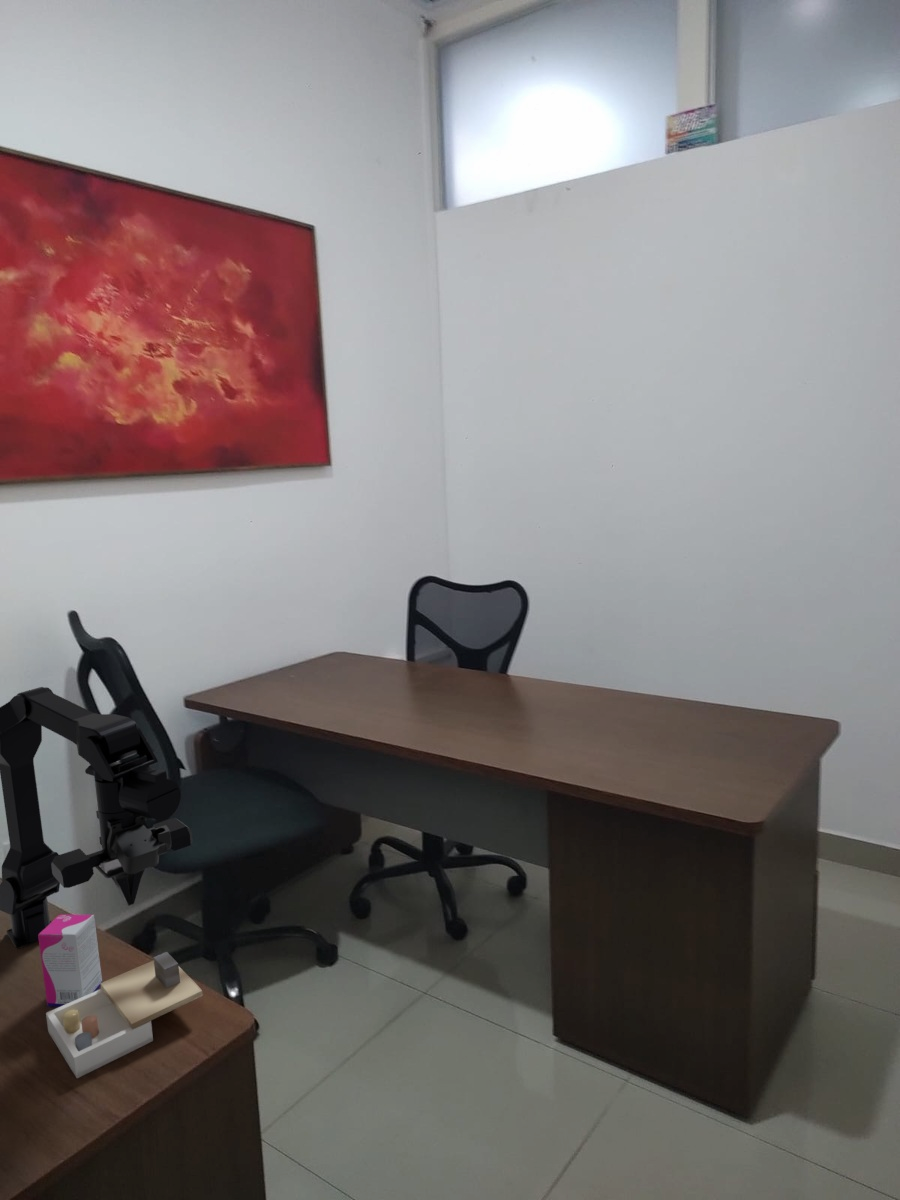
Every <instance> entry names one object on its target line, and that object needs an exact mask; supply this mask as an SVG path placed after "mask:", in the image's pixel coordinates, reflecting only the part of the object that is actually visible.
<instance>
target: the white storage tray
mask: <svg viewBox="0 0 900 1200" xmlns="http://www.w3.org/2000/svg"><path fill="white" fill-rule="evenodd" d="M45 1015H46V1016H45V1018H46V1024H47V1031H48V1034H49V1036H50V1037H51V1039H52V1040H53V1042H54V1044H55V1046H56V1047H57V1048H58V1050H59V1053H60V1054H61V1055H62V1057H63V1059H64V1060H65V1062H66V1064H67V1065H68V1066H69V1068H70V1070H71V1072H72V1073H73V1075H74V1076H75V1078H76V1079H80V1078H82V1077H83V1076H85V1075H88V1074H89V1073H91V1072H93V1071H95V1070H98V1069H100V1068H101V1067H103V1066H106V1065H108V1064H109V1063H111V1062H113V1061H114V1062H115V1060H117V1059H119V1058H121V1057H124V1056H126V1055H127V1054H129V1053H131V1052H134V1051H136V1050H137V1049H139V1048H140V1049H141V1048H142V1047H144V1046H146V1045H148V1044H150V1043H151V1042H153V1041H154V1037H153V1025H152V1020H151V1021H149V1022H147V1023H145V1024H143V1025H141V1026H138V1027H136V1028H134V1029H132V1028H131V1027H130V1026H129V1024H128V1023H127V1022H126V1020H125V1019H124V1018H123V1017H122V1015H121V1014H120V1013H119V1011H118V1010H117V1009H116V1007H115V1006H114V1005H113V1004H112V1002H111V1001H110V1000H109V998H108V997H107V996H106V994H105V993H104V992H103V990H102V989H101V988H99V989H98V990H97V991H95V992H93V993H90V994H88V995H86V996H84V997H81V998H79V999H77V1000H74V1001H72V1002H70V1003H68V1004H65V1005H63V1006H61V1007H56V1008H54V1009H52V1010H51V1009H50V1010H49V1011H47V1012H46V1013H45Z"/></svg>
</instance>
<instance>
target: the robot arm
mask: <svg viewBox="0 0 900 1200" xmlns="http://www.w3.org/2000/svg"><path fill="white" fill-rule="evenodd" d="M42 727H44V728H45V729H48V730H49V731H51V732H53V733H54V734H57V735H59V736H60V737H62V738H64V739H66V740H68V741H70V742H72V743H73V744H75V745H76V749H77V754H78V756H80V757H81V758H82V759H83V760H84V761H85V762H87V763H88V764H89V766H87V768H85V774H86V775H89V776H93V778H94V788H95V795H96V803H97V805H96V806H97V810H95V813H96V818H97V819H98V821H99V828H100V829H99V830H100V836H99V839H98V840H99V844H100V845H101V848H102V849H101V850H99V851H95V852H92V853H89V854H86V853H85V852H84V851H83V850H82V849H81V848H76V849H74V850H70V851H67V852H64V853H62V854H59V853H58V852H57V851H54V850H52V848H51V847H49V845H47V844H46V842H45V841H44V834H43V833H44V832H43V831H44V830H43V825H42V818H41V817H42V816H41V809H40V802H39V795H38V787H37V786H38V785H37V780H36V778H37V777H36V770H35V762H34V759H35V756H36V754H37V752H38V751H39V748H40V746H41V744H42V741H43V731H42V730H43V728H42ZM136 754H137V755H138V756H136V757H133V758H130V759H128V760H125V759H127V758H129V757H132V756H135V755H136ZM122 760H125V761H123V762H120V761H122ZM158 762H159V761H158V758H157V756H156V755H155V750H154V748H153V747H152V745H151V744H150V743H149V742H148V739H147V738H146V737H145V735H144V733H143V732H142V729H141V728H140V727H139V725H138V724H137V723H136V721H135V720H134V719H132V718H130V717H128V716H123V715H119V714H115V713H106V714H105V713H104V714H102V713H101V714H100V713H99V714H98V713H94V712H93V711H91V710H88V709H86V708H84V707H83V706H80V705H78V704H76V703H74V702H72V701H71V700H68V699H66V698H64V697H62V696H60V695H58V694H56V693H54V692H53V690H52V689H50V688H49V687H46V686H45V687H43V686H40V687H37V688H32V689H29V690H25V691H21V692H19V693H17V694H16V695H15V696H13V697H12V698H11V699H10V700H9V701H8V702H7V703H5V704H3V705H1V706H0V781H1V788H2V797H3V803H4V809H5V810H4V811H5V818H6V825H7V833H8V840H9V850H8V852H7V854H6V856H5V858H4V861H3V863H2V865H1V882H0V911H1V912H3V913H5V914H7V915H9V916H10V924H11V928H9V929H7V930H6V935H7V937H8V938H9V939H10V941H11V942H12V944H13V946H14V947H15V949H21V948H23V947H26V946H29V945H31V944H34V943H36V942H39V938H38V934H39V933H40V932H42V931H43V930H44V929H45V928H46V927H47V926H48V925H49V924H50V923H51V922H52V921H51V917H50V910H49V909H50V908H49V905H48V903H49V902H48V897H49V896H51V895H55V894H57V893H59V892H60V887H61V886H62V887H63V888H64V889H70V888H72V887H75V886H79V885H81V884H84V883H88V882H89V881H90V880H91V879H92V877H93V875H94V868H95V869H96V870H97V871H98V872H100V874H101V875H102V876H104V878H106V879H112V881H113V883H114V885H115V886H116V888H117V889H118V891H119V893H120V896H121V897H122V899H123V901H124V902H125V905H127V906H128V907H129V906H133V905H134V904H135V902H136V899H137V894H138V892H139V891H138V890H139V887H140V883H141V880H142V877H143V874H144V872H145V871H146V869H148V868H154V867H156V866H157V865H158V864H159V861H160V856H161V855H164V854H167V853H168V852H169V850H172V851H174V852H175V851H178V850H181V849H184V848H187V847H190V846H192V844H193V840H194V839H193V833H192V830H191V828H190V827H189V826H187V825H186V824H185V823H184V822H182V821H181V820H179V819H178V818H177V817H173V818H170V817H172V816H173V815H174V814H175V813H176V811H177V809H178V808H179V805H180V803H181V800H182V799H181V797H182V792H181V788H180V787H179V785H178V783H177V782H176V781H175V780H173V779H169V778H168V775H167V771H166V770H164V769H162V768H161V769H156V768H152V767H151V766H154V765H156V764H158ZM146 818H147V819H151V820H154V821H158V822H157V823H154V824H153V825H152V827H151V828H149V826H148V824H147V822H146ZM60 885H61V886H60Z"/></svg>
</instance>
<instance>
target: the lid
mask: <svg viewBox="0 0 900 1200" xmlns="http://www.w3.org/2000/svg"><path fill="white" fill-rule="evenodd" d="M100 985H101V986H100V989H102V990H103V992H104V993H105V994H106V996H107V997H108V998H109V1000H110V1001H111V1002H112V1004H113V1005H114V1006H115V1007H116V1009H117V1010H118V1011H119V1013H120V1014H121V1015H122V1017H123V1018H124V1019H125V1020H126V1022H127V1023H128V1024H129V1026H130V1027H131V1028H132V1029H134V1028H136V1027H138V1026H141V1025H143V1024H145V1023H147V1022H149V1021H151V1022H152V1021H153V1020H155V1019H158V1018H159V1017H161V1016H163V1015H165V1014H168V1013H169V1012H172V1011H174V1010H176V1009H178V1008H180V1007H183V1006H184V1005H186V1004H188V1003H190V1002H193V1001H196V999H199V998H201V997H203V996H204V994H203V990H202V988H200V986H199V985H198V984H197V983H196V982H195V981H194V980H193V979H192V978H191V977H190V976H189V975H188V974H187V973H186V972H185V971H184V970H183V968H181V967H180V965H179V963H178V962H177V960H175V959H174V957H173V956H172V955H171V954H170V953H169V952H168V951H165V952H162V953H161V954H158V955H156V956H153V960H151V961H149V962H146V963H144V964H142V965H140V966H136V967H135V968H132V969H130V970H128V971H125V972H123V973H121V974H118V975H116V976H114V977H111V978H109V979H106V980H105V981H102V983H100Z"/></svg>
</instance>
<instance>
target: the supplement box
mask: <svg viewBox="0 0 900 1200" xmlns="http://www.w3.org/2000/svg"><path fill="white" fill-rule="evenodd" d="M96 928H97V927H96V919H95V914H58V915H57V916H56V917H55V918H54V919H53V920H52V921H51V923H50V924H49V925H48V926H47V927H46V928H45V929H44V930H43V931H42V932H40V933H39V934H38V938H39V941H38V944H39V952H40V959H41V965H42V966H41V967H42V975H43V981H44V983H43V984H44V990H45V991H44V992H45V998H46V999H45V1000H46V1006H47V1007H51V1008H53V1007H56V1008H58V1007H61V1006H63V1005H65V1004H68V1003H70V1002H72V1001H74V1000H77V999H79V998H81V997H84V996H86V995H88V994H90V993H93V992H95V991H97V990H100V989H101V985H100V983H102V982H103V977H102V976H103V975H102V970H101V960H100V953H99V944H98V936H97V929H96Z"/></svg>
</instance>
